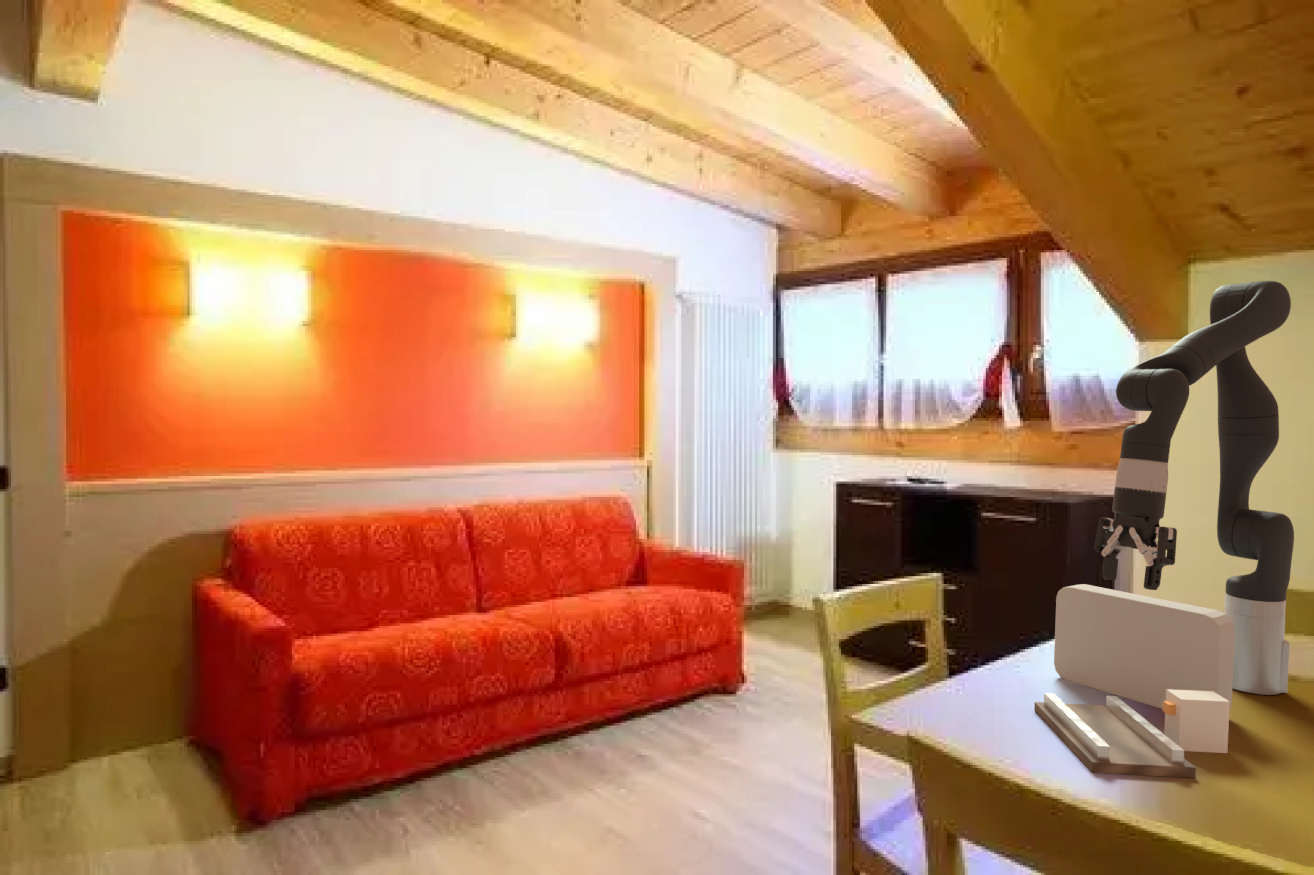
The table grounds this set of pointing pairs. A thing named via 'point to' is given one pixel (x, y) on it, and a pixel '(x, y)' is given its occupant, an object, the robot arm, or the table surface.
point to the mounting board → (1114, 744)
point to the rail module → (1197, 720)
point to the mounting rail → (1125, 715)
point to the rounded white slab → (1141, 644)
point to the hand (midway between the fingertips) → (1129, 584)
